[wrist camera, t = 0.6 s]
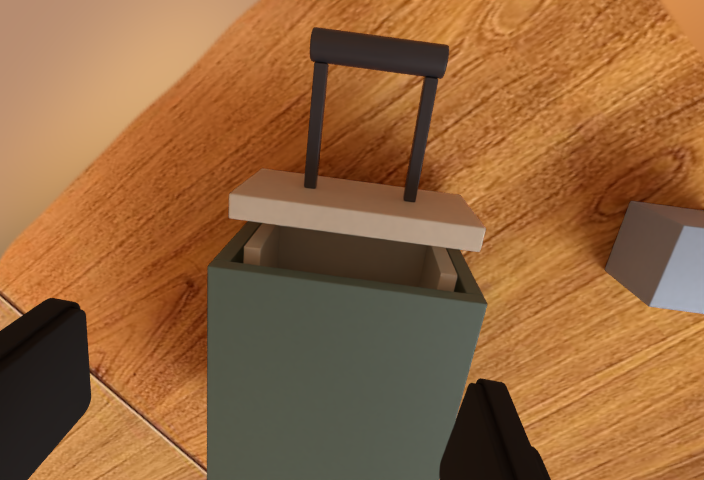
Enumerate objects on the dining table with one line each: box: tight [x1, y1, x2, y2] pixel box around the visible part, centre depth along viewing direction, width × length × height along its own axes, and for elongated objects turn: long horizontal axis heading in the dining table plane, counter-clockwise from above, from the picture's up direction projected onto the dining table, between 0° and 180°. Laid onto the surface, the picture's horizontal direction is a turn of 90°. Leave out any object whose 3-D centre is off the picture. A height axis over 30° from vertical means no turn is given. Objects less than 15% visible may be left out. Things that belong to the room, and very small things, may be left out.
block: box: [605, 201, 704, 314], centre depth 23 cm, size 4×4×4 cm
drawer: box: [229, 27, 486, 292], centre depth 22 cm, size 21×11×6 cm, turn 173°
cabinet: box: [207, 221, 487, 480], centre depth 25 cm, size 15×13×8 cm
